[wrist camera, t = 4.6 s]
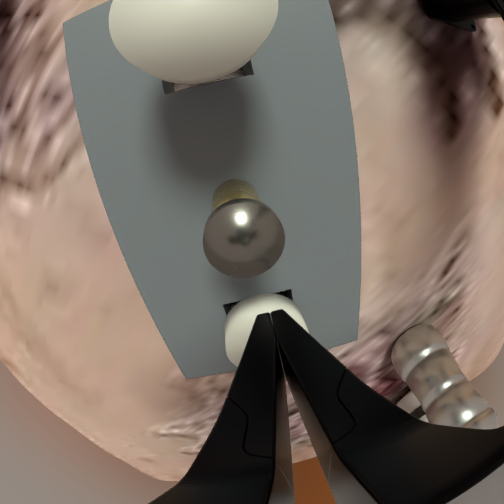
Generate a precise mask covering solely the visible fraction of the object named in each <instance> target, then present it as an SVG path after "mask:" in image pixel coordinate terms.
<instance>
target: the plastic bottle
mask: <svg viewBox="0 0 504 504" xmlns="http://www.w3.org/2000/svg"><path fill="white" fill-rule="evenodd" d="M391 361H392V364H393V367H394V370H395V371H396V373H397V374H398V375H399V376H400V378H401V379H402V380H403V381H404V382H405V383H406V384H407V385H408V386H409V388H410V389H411V391H412V392H413V394H414V395H415V396H416V398H417V399H418V401H419V402H420V404H421V406H422V408H423V410H424V412H425V413H426V417H427V419H428V421H429V423H432V424H438V425H446V426H454V427H463V428H474V429H495V428H498V419H497V414H496V413H495V411H494V410H493V409H492V408H491V407H490V405H489V404H488V403H487V402H486V401H485V400H484V399H483V398H482V397H481V395H480V394H479V393H478V392H477V391H476V390H475V389H474V387H473V386H472V384H471V383H470V382H469V381H467V378H466V377H465V375H464V374H463V373H462V371H461V370H460V368H459V366H458V364H457V363H456V361H455V359H454V357H453V356H452V354H451V352H450V351H449V348H448V345H447V343H446V341H445V339H444V337H443V335H442V334H441V333H440V332H439V331H438V330H437V329H436V328H434V327H433V326H431V325H426V324H420V325H417V326H414V327H412V328H411V329H409V330H408V331H406V332H405V333H404V334H403V335H402V336H400V338H399V339H398V340H397V341H396V343H395V344H394V346H393V348H392V354H391Z"/></svg>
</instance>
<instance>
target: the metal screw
mask: <svg viewBox="0 0 504 504" xmlns="http://www.w3.org/2000/svg"><path fill="white" fill-rule="evenodd" d="M284 246H285V232H284V228H283V226H282V224H281V222H280V220H279V218H278V217H277V215H276V213H275V212H274V211H273V210H272V209H271V208H270V207H269V206H267V205H266V204H264V203H263V202H261V200H260V198H259V196H258V194H257V192H256V190H255V189H254V187H253V186H252V185H251V184H249V183H248V182H246V181H244V180H240V179H231V180H227V181H225V182H223V183H222V184H220V185H219V186H218V187H217V189H216V190H215V192H214V194H213V198H212V213H211V215H210V216H209V217H208V219H207V221H206V224H205V227H204V232H203V249H204V253H205V256H206V258H207V260H208V261H209V263H210V264H211V265H212V266H213V267H214V268H215V269H216V270H218V271H219V272H221V273H222V274H225V275H227V276H230V277H235V278H249V277H254V276H257V275H260V274H262V273H264V272H266V271H267V270H269V269H270V268H271V267H272V266H274V265H275V263H276V262H277V261H278V260H279V258H280V256H281V254H282V252H283V249H284Z"/></svg>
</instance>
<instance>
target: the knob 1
mask: <svg viewBox="0 0 504 504" xmlns="http://www.w3.org/2000/svg"><path fill="white" fill-rule="evenodd" d="M277 13H278V0H113V2H112V4H111V8H110V12H109V31H110V35H111V38H112V40H113V43H114V45H115V47H116V48H117V50H118V51H119V52H120V54H121V55H122V56H123V57H124V58H125V59H126V60H128V61H129V62H130V63H131V64H133V65H135V66H136V67H138V68H140V69H142V70H143V71H145V72H147V73H149V74H151V75H152V76H154V77H156V78H159V79H161V80H164V81H168V82H171V83H177V84H200V83H206V82H211V81H214V80H218V79H220V78H223V77H225V76H228V75H229V74H231V73H233V72H235V71H237V70H238V69H240V68H241V67H242V66H244V65H245V64H246V63H247V62H248V61H249V60H250V59H251V58H252V57H253V56H254V55H255V54H256V52H257V51H258V49H259V48H260V47H261V45H262V44H263V42H264V41H265V39H266V38H267V37H268V35H269V34H270V32H271V30H272V28H273V26H274V24H275V21H276V18H277Z"/></svg>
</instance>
